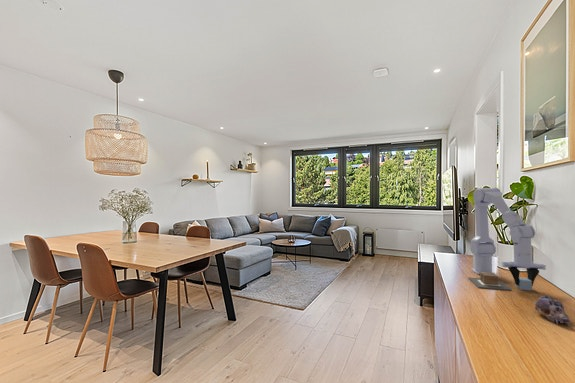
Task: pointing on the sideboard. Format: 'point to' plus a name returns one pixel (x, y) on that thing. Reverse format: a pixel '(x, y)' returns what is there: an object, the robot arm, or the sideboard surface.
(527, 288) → the blue block
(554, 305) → the skull
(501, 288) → the mat
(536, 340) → the sideboard surface
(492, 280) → the walnut block
